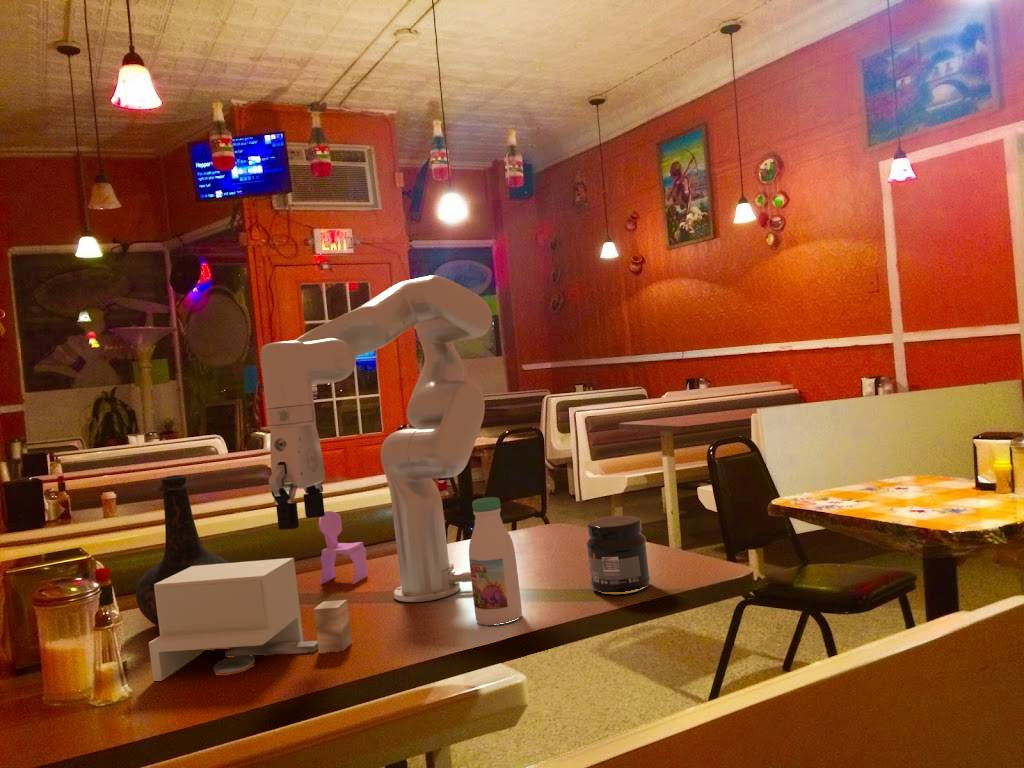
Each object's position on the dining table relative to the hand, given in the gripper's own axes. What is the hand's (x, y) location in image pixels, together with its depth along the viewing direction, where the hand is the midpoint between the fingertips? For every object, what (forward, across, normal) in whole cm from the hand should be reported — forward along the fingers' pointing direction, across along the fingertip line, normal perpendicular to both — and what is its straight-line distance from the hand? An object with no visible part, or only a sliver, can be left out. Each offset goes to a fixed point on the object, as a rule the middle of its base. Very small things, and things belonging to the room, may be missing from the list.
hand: (302, 522), depth 130 cm
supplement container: (+20, +22, -48) cm, 57 cm away
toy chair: (+20, +40, +11) cm, 46 cm away
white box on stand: (+20, -6, +11) cm, 24 cm away
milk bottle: (+20, +8, -29) cm, 36 cm away
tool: (+20, -3, +4) cm, 20 cm away
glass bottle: (+20, +16, +32) cm, 41 cm away
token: (+20, -9, +9) cm, 24 cm away
